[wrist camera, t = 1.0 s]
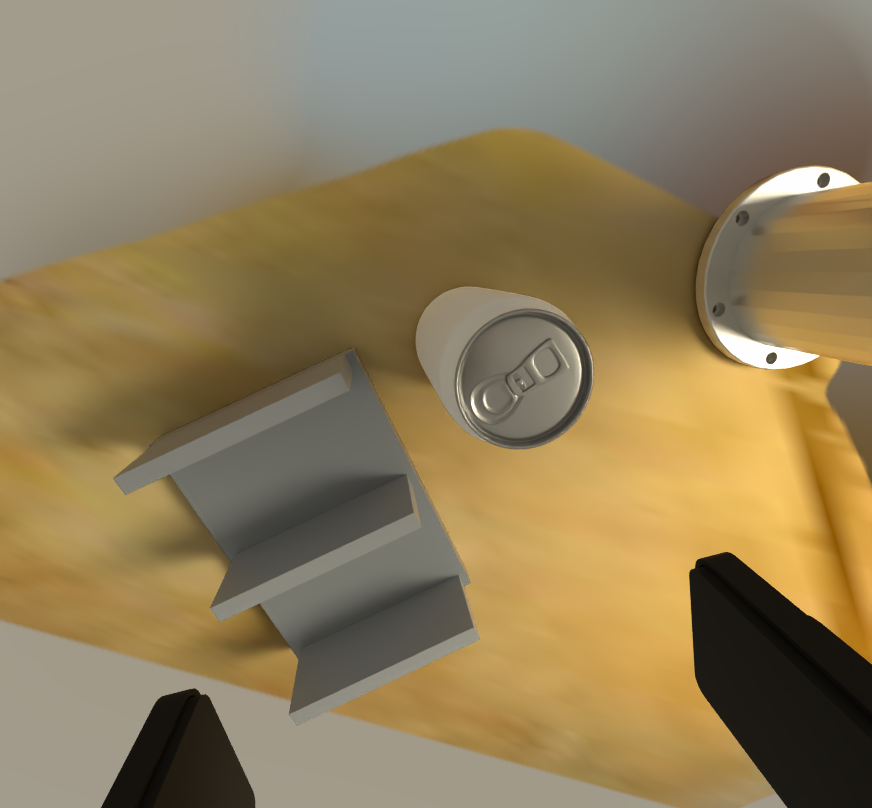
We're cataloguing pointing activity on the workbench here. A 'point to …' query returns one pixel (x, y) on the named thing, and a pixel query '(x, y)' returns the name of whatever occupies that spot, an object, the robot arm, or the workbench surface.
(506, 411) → the can
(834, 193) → the robot arm
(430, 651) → the rack
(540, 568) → the workbench surface
